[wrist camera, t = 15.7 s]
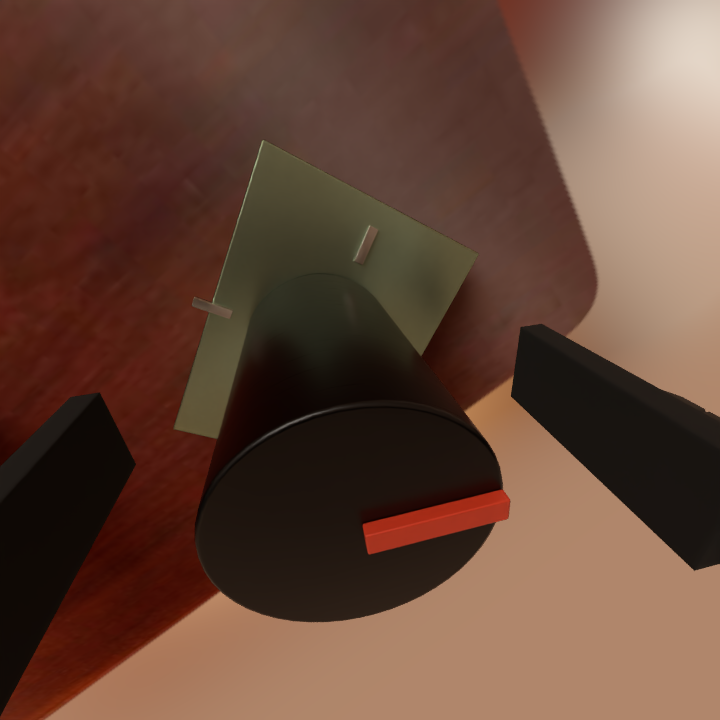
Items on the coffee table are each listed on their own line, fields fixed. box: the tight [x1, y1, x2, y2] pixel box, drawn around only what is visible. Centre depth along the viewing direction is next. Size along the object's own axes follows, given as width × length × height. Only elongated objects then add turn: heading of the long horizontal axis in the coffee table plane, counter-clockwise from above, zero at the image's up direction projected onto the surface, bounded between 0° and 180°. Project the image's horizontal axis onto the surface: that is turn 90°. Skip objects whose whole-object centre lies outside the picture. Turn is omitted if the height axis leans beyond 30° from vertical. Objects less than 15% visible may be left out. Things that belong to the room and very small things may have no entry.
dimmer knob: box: [195, 274, 510, 622], centre depth 11 cm, size 6×6×9 cm
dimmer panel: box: [174, 140, 478, 439], centre depth 16 cm, size 12×10×3 cm
